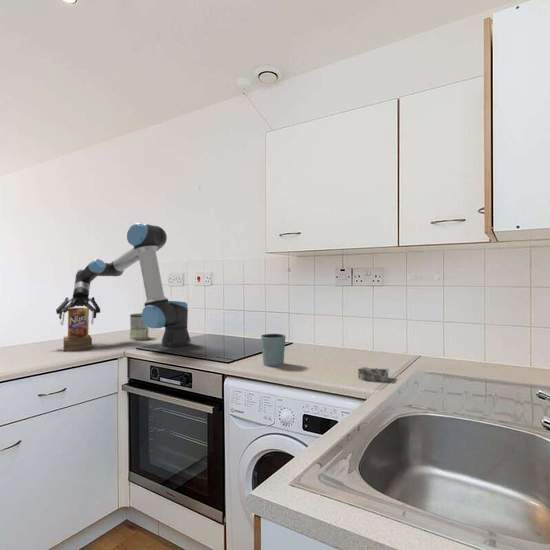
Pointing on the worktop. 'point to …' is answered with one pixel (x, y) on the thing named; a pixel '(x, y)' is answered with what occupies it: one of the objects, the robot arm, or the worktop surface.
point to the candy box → (78, 322)
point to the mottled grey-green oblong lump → (373, 374)
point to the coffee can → (138, 327)
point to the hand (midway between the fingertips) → (77, 323)
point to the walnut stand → (77, 343)
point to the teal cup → (273, 349)
